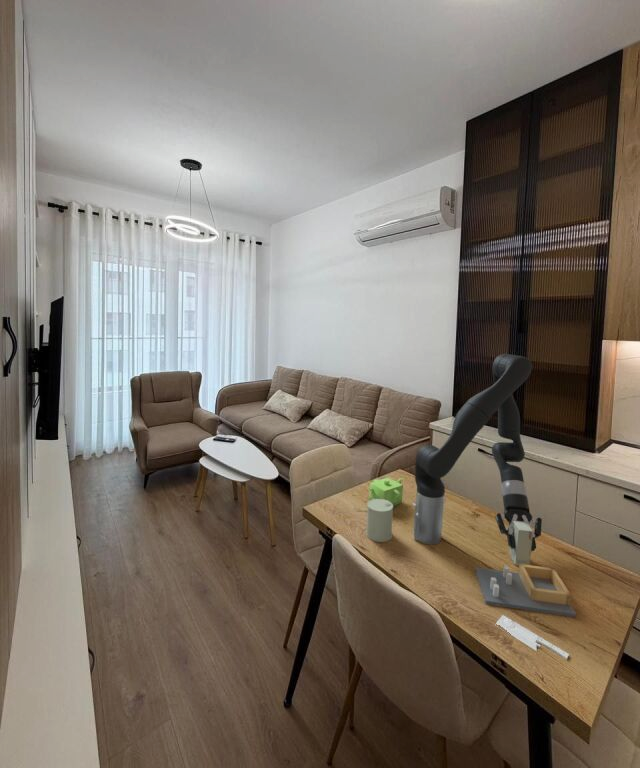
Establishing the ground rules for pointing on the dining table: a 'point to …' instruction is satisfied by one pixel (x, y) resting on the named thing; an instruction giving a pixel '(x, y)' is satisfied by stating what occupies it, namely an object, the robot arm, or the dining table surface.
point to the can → (379, 520)
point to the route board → (526, 589)
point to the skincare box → (521, 543)
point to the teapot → (387, 490)
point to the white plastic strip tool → (527, 636)
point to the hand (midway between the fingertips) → (522, 549)
